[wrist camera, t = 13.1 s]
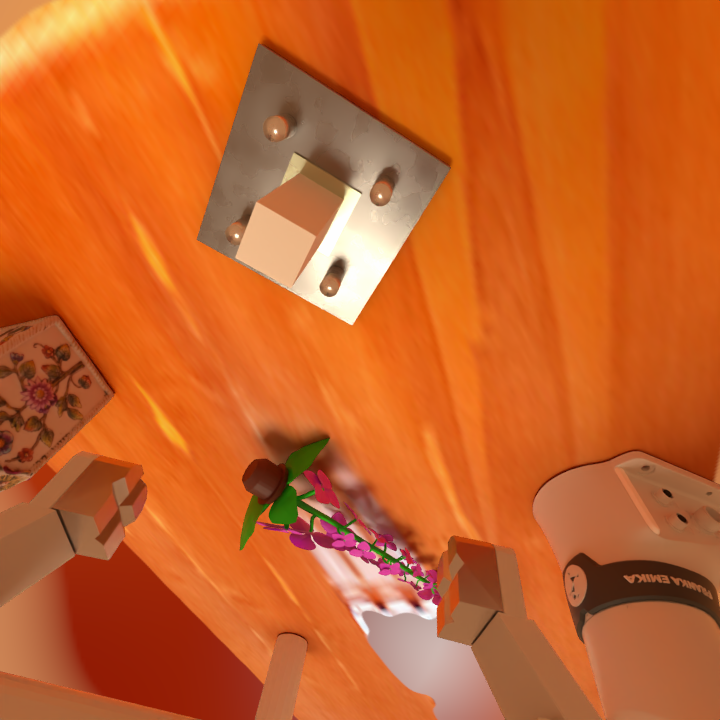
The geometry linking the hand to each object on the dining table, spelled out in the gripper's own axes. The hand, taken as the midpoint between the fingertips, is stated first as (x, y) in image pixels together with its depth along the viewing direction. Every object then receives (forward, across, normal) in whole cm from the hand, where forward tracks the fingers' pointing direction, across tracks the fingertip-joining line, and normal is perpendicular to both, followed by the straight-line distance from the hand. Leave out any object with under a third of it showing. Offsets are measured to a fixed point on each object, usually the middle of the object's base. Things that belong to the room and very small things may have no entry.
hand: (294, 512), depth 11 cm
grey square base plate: (+29, -6, -1) cm, 30 cm away
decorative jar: (+29, -36, -25) cm, 52 cm away
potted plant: (+29, +5, -39) cm, 49 cm away
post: (+28, -6, -1) cm, 29 cm away
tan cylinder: (+28, -2, -83) cm, 87 cm away
